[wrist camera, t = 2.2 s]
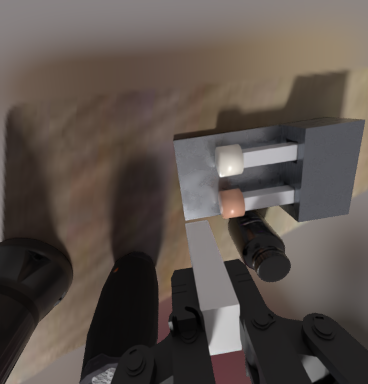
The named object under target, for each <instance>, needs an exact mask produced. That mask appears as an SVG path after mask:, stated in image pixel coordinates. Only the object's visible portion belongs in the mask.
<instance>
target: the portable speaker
mask: <svg viewBox="0 0 368 384" xmlns="http://www.w3.org/2000/svg"><path fill="white" fill-rule="evenodd" d="M158 304H159V299H158V281H157V275H156V270H155V266H154V264H153V262H152V260H151V258H150V257H149V256H148V255H146V254H145V253H142V252H133V253H131V254H130V255H127V256H125V257H122V258H121V259H119V260H118V261H116V263H115V265H114V266H113V268H112V270H111V272H110V274H109V276H108V278H107V280H106V282H105V284H104V286H103V288H102V291H101V295H100V298H99V301H98V304H97V307H96V310H95V313H94V316H93V319H92V322H91V325H90V328H89V331H88V334H87V340H86V347H85V353H84V359H83V366H82V372H81V379H80V382H79V384H110V383H111V380H112V378H113V375H114V372H115V370H116V367H117V365H118V362H119V360H120V359H121V357H122V355H123V354H124V353H125V352H126V351H127V350H128V349H129V348H131V347H133V346H135V345H145V346H148V347H149V348H150V347H152V346H154V345H156V344H157V339H158Z"/></svg>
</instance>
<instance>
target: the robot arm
mask: <svg viewBox="0 0 368 384" xmlns="http://www.w3.org/2000/svg"><path fill="white" fill-rule="evenodd" d="M185 226H186V232H187V239H188V246H189V252H190V259H191V264H192V268H186V269H180V270H175V271H174V273H173V275H172V277H171V287H172V309H173V311H172V313H171V314H170V316H169V321H168V322H169V327H170V333H169V335H168V336H167V337H166V338H165V339H164V340H162V341H161V342H160V343H158V344H156V345H154V346H152V347H150V348H149V347H148V346H145V345H135V346H133V347H131V348H129V349H128V350H127V351H126V352H125V353H124V354H123V355H122V357H121V359H120V360H119V362H118V365H117V367H116V370H115V372H114V375H113V378H112V380H111V383H110V384H215V378H214V373H213V368H212V362H211V357H210V355H215V354H221V353H227V352H232V351H237V350H241V349H242V347H243V350H244V353H245V365H246V375H247V376H250V379H251V383H252V384H368V350H367V349H365V348H364V347H363V346H362V345H361V344H360V343H359V342H358V341H357V340H356V339H354V338H353V337H352V336H351V335H350V334H349V333H348V332H347V331H346V330H345V329H344V328H342V327H341V326H340V325H339V324H338V323H337V322H336V321H334V320H333V319H331V318H330V317H328V316H325V315H323V314H318V313H312V314H308V315H307V316H305V317H304V319H303V321H299V320H292V319H286V318H282V317H280V316H277V315H276V314H274V313H273V312H272V311H271V310H270V309H269V308H268V307H267V306H266V304H265V302H264V300H263V298H262V296H261V294H260V292H259V290H258V288H257V286H256V285H255V283H254V281H253V279H252V277H251V275H250V273H249V271H248V269H247V267H246V265H245V264H244V263H243V262H241V261H240V260H239V259H236V260H230V261H224V262H223V260H222V257H221V254H220V252H219V249H218V247H217V244H216V241H215V239H214V236H213V233H212V231H211V228H210V225H209V223H208V220H204V221H198V222H192V223H186V224H185ZM72 279H73V272H72V268H71V265H70V263H69V262H68V260H67V259H66V257H65V256H64V255H63V254H62V253H61V252H59V251H58V250H57V249H55V248H54V247H52V246H50V245H48V244H46V243H44V242H41V241H38V240H34V239H27V238H15V239H9V240H5V241H3V242H0V384H5V382H6V381H7V379H8V377H9V375H10V373H11V371H12V370H13V368H14V366H15V364H16V362H17V361H18V359H19V357H20V355H21V353H22V352H23V350H24V348H25V346H26V344H27V342H28V341H29V339H30V337H31V335H32V333H33V331H34V330H35V328H36V326H37V325H38V323H39V322H40V321H41V320H42V319H43V318H44V317H45V316H46V315H47V314H48V313H49V312H50V311H51V310H52V309H53V308H54V306H56V305H57V304H58V303H59V302H60V301H61V300H62V299H63V298H64V297H65V295H66V293H67V292H68V290H69V288H70V286H71V283H72ZM241 344H242V347H241Z"/></svg>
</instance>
